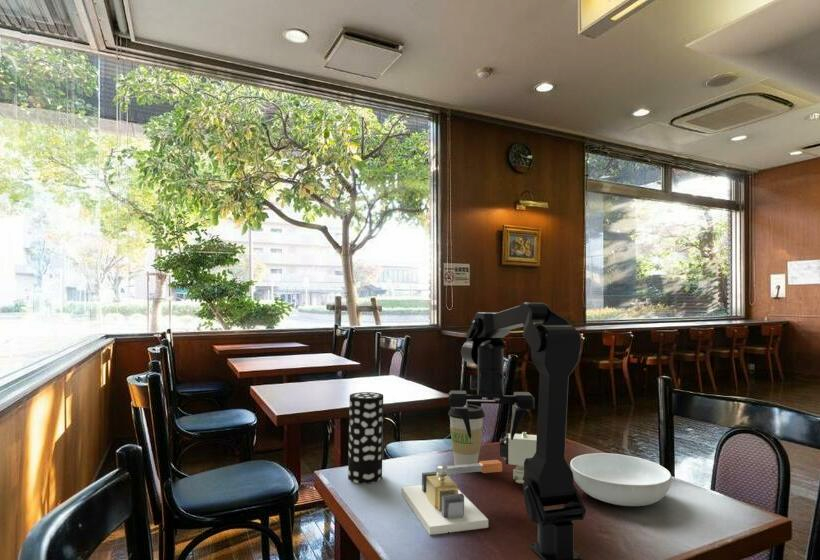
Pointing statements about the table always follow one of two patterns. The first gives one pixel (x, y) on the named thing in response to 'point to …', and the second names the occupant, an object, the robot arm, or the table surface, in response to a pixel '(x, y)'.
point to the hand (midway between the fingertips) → (490, 438)
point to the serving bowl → (620, 478)
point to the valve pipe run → (443, 495)
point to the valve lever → (469, 468)
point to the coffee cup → (466, 435)
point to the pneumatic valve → (518, 452)
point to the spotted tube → (365, 437)
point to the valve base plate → (433, 516)
